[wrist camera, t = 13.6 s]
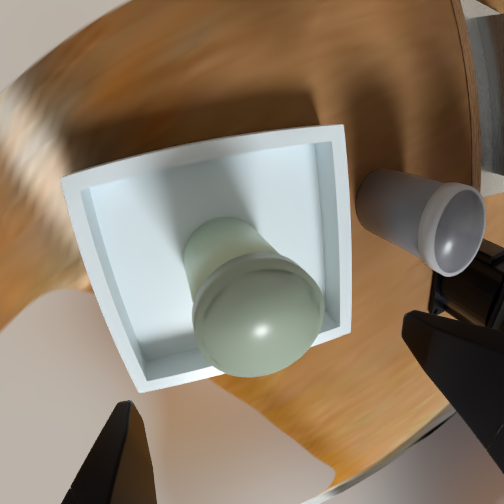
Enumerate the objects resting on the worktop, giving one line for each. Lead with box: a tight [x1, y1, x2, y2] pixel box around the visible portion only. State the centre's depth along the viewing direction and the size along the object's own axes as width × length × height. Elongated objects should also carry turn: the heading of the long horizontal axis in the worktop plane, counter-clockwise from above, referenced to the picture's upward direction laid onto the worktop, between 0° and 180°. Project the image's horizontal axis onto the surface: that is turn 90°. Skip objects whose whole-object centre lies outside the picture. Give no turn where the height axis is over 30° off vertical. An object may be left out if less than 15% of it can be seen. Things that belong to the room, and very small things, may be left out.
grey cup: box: [356, 168, 486, 277], centre depth 17 cm, size 5×5×7 cm
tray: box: [60, 125, 352, 393], centre depth 17 cm, size 13×14×2 cm
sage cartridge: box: [183, 217, 325, 377], centre depth 14 cm, size 5×5×7 cm
